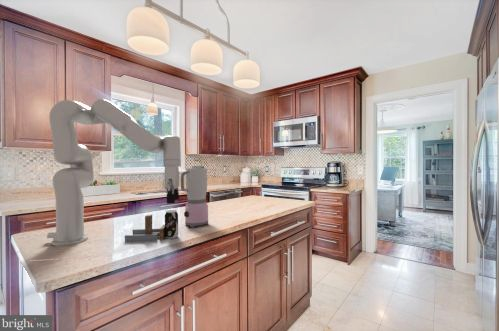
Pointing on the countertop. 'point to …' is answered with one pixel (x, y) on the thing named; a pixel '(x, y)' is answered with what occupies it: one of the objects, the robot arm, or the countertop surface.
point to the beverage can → (171, 224)
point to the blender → (195, 196)
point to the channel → (141, 236)
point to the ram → (149, 228)
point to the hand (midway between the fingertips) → (173, 201)
